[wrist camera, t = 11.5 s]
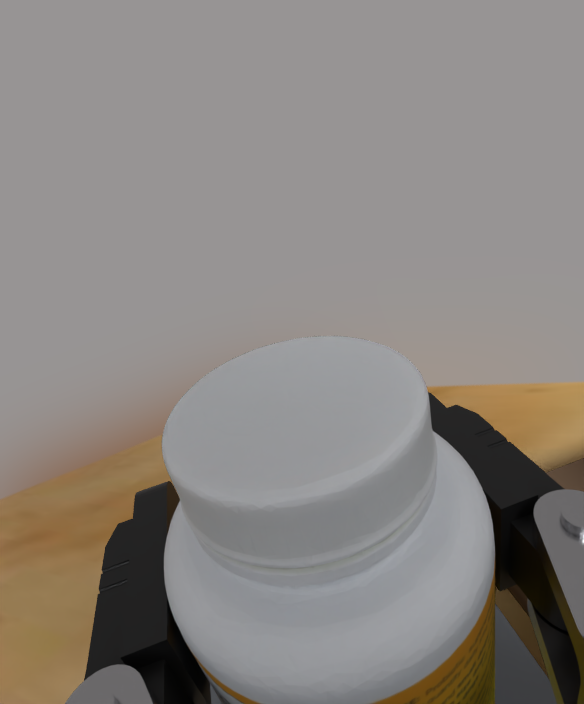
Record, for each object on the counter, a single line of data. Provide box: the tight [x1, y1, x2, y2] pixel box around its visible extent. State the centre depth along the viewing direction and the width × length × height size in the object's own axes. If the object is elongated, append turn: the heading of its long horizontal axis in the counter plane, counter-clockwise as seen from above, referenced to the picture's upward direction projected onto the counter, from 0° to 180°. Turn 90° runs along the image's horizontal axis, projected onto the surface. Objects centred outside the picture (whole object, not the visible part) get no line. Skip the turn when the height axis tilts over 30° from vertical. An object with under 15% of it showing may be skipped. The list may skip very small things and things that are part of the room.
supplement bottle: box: [162, 336, 496, 704], centre depth 9 cm, size 6×6×10 cm
